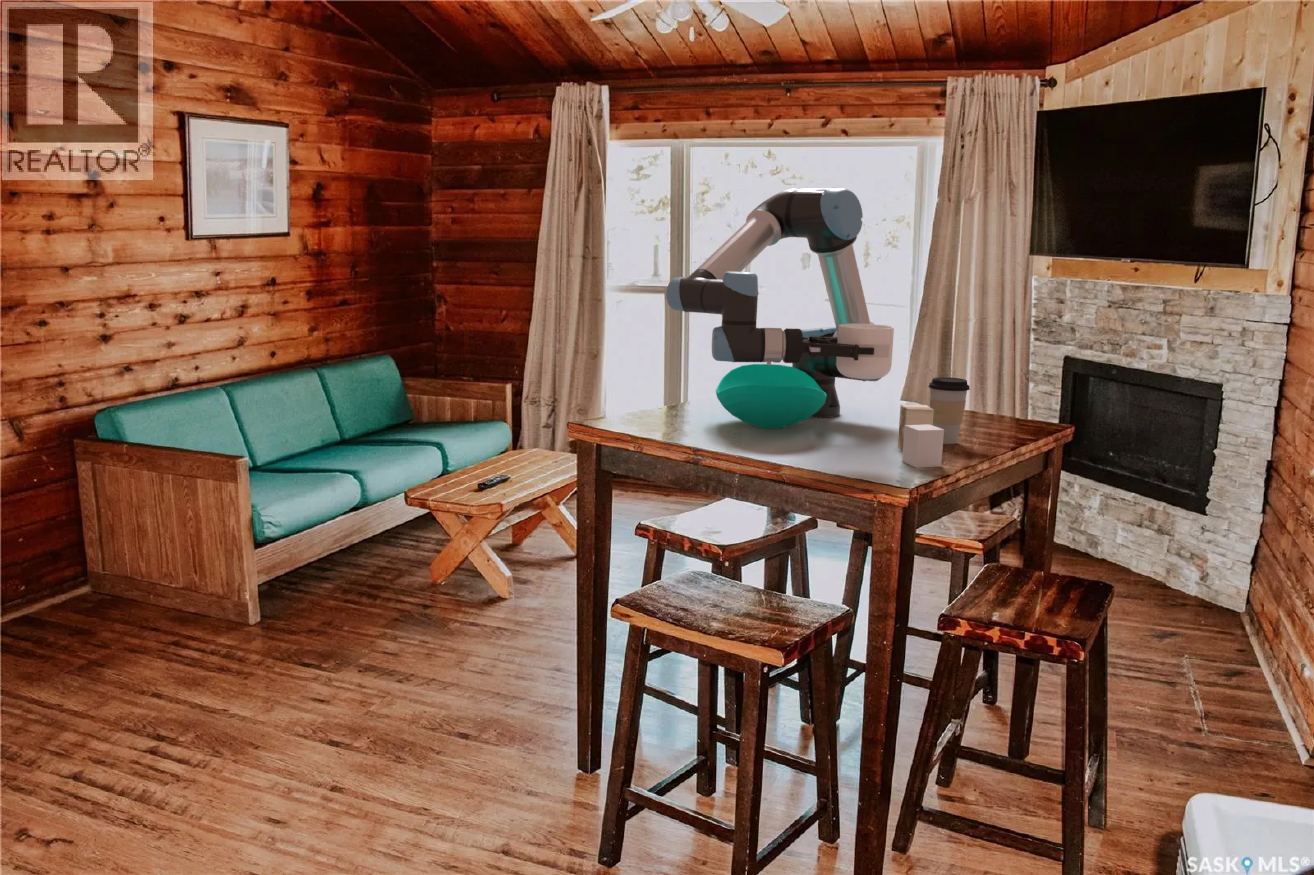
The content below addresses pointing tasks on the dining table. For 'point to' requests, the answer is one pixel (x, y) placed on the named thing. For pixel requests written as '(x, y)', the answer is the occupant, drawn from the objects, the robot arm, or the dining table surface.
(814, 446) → the dining table surface
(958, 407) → the coffee cup
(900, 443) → the birch block
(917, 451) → the pale pink block
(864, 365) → the handleless ceramic cup
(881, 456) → the dining table surface
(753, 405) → the table top decor
